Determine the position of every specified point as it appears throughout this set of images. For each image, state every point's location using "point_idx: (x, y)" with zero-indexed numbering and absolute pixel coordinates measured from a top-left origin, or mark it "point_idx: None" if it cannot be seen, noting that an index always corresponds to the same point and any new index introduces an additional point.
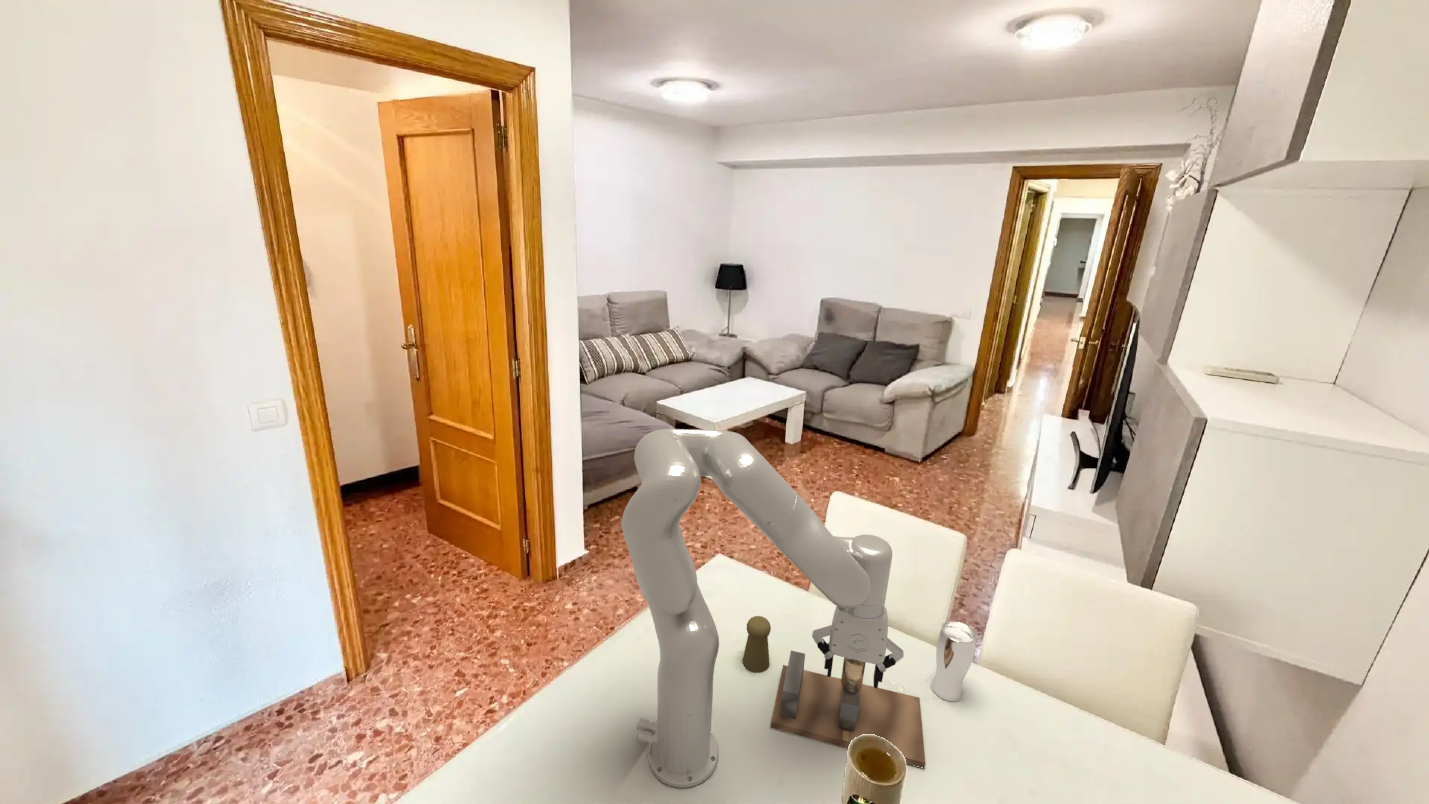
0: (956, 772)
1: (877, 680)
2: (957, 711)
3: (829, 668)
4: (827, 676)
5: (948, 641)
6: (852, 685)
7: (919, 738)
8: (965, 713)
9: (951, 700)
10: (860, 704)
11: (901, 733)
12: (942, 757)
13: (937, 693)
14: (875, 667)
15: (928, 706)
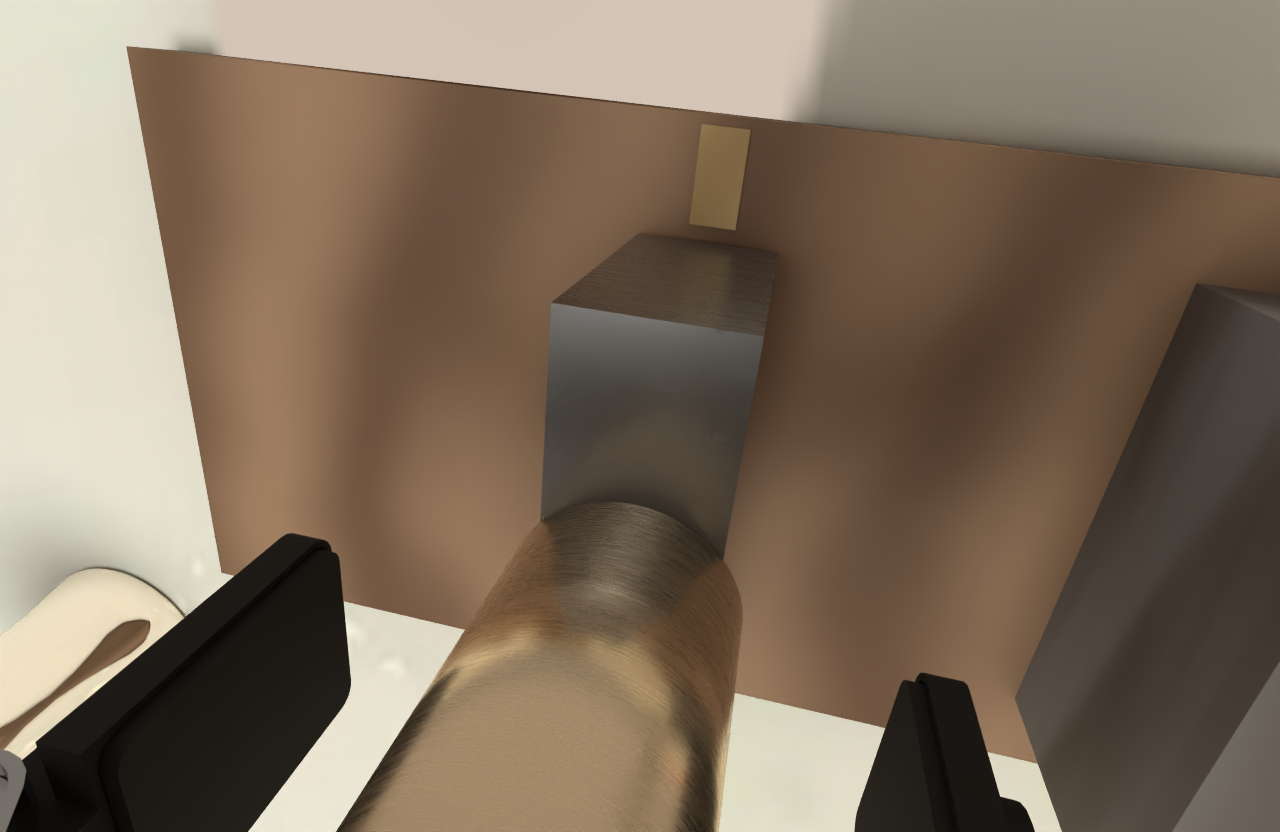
0: (4, 78)
1: (209, 617)
2: (67, 512)
3: (981, 818)
4: (958, 680)
5: None
6: (601, 560)
7: (187, 263)
8: (32, 504)
9: (92, 572)
10: None
11: (301, 285)
12: (91, 180)
13: (158, 609)
14: (218, 815)
15: (203, 531)
